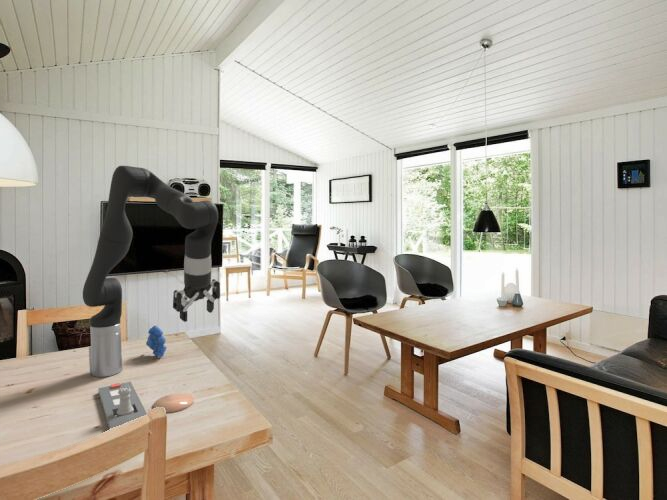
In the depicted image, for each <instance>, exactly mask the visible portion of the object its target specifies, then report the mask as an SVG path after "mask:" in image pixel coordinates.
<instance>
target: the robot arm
mask: <svg viewBox="0 0 667 500" xmlns="http://www.w3.org/2000/svg"><path fill="white" fill-rule="evenodd" d="M128 197H137V198H143V197H144V198H150V199H154V200H155V203H156V205H157V206H158V207H159V208H160V209H161V210H162V211H165V212H166V213H168V214H170V215H172V216H173V217H174V218H175V220H176V221H177V223H178V224H180V225H181V227H183V228H185V229H188V230H194V231H193V232H191V233H189V234H187V235H186V236H185V239H184V240H185V241H184V260H183V262H184V263H183V283H184V288H183V289H181V290H178V289H175V290H174V291H173V294H172V295H173V299H172V300H173V301H172V308H173V309H174V310H175V311H176V312H178V313H179V318H180V320H181V321H182V322H184V323H187V322H188V309H189V307H191V306H192V305H193V303H194V302H197V301H199V300H204V298H206V299H207V300H206V311H207V312H208V313H210V314H212V313H213V311H214V309H215V302H216V300H219V299H220V298H221V286H220V285H221V283H220V281H218V280H217V279H215V278H213V279H212V242H213V237H214V235H215V232H216V228H217V225H218V222H219V211H218V208H217V206H216V204H215V203H214V202H213V201H210V200H201V201H200V200H199V201H195V202H194V201H193V199H192V198H191V197H190V196H189V195H188V194H186V193H185V192H182V191H180V190H178V189H176V188H173V187H171V186H170V185H168V184H167V183H165V182H164V181H163V180H162V179H160V178H159V177H158V176H157V175H156V174H154V173H153V172H152V171H150V170H149V169H148V168H147V169H146V168H144V167H139V166H138V167H137V166H130V165H119V166H116V167H115V170H114V171H113V173H112V176H111V182H110V189H109V194H108V202H107V207H106V211H105V215H104V219H103V223H102V226H101V229H100V233H99V236H98V237H99V238H98V241H97V245H96V249H95V253H94V257H93V260H92V264H91V266H90V268H89V272H88V273H87V274H88V275H87V277H86V279H85V282H84V285H83V288H82V301H83V303H84V304H85V305H86V307H90V308H97V307H103V308H102V309H101V310H100V311H99V312H98V313H95V314H94V315H93V316H91V317H90V319H89V329H90V331H89V332H90V346H89V347H88V359H89V363H88V364H89V374H90V375H92V376H93V377H98V378H104V377H105V378H106V377H110V376H115V375H117V374H119V373H121V372H122V371H123V354H122V350H123V349H122V330H121V329H122V328H121V327H122V325H121V318H122V314H123V311H122V309H123V307H122V306H123V288H122V285H121V282H120V281H119V279H117V277H108V275H109V273H110V272H111V271H112V270H113V269H114V268H115V267H116V266H117V265H118V264H119V263H120V262H121V261H122V260H123V259H124V258H125V257H126V256H127V254H128V252H129V250H130V246H131V243H132V240H133V235H134V233H133V228H132V225H131V223H130V221H129V218H128V216H127V213H126V203H127V199H128ZM210 290H211V292H212V293H210V292H209V291H210ZM188 299H189V300H188Z"/></svg>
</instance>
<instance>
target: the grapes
mask: <svg viewBox="0 0 667 500" xmlns="http://www.w3.org/2000/svg"><path fill="white" fill-rule="evenodd" d="M147 333H148V334H149V335H148V337H147V341H146V343H145V345H146V346H147V347H149V349H150V350H152V354H153V355H154V356H155V357H159V358H163V357H164V355H165V352H166V350H167V346H166V345H165V344H166V342H167V339H166V338H165V337H164V336H163V335H164V331H163V330H162V329H160V328H159V327H158V326H157V325H153V326H152V327H150V328H149V330H148V331H147Z"/></svg>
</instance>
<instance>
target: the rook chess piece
mask: <svg viewBox="0 0 667 500" xmlns="http://www.w3.org/2000/svg"><path fill="white" fill-rule="evenodd" d="M124 387H125V388H123V387H121V388H119V391H118V394H119V395H120V397H119V399H120V405H119V408H118V410H117V412H116V413H117V414H116V417H120V416H124V415H128V414H132V413H135V409H134V408H133V407H132V405H131V403H130V396H131V395H130V392H131V389H130V387H129V386H127V387H126V386H124ZM116 417H115V418H116Z"/></svg>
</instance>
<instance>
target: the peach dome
mask: <svg viewBox="0 0 667 500" xmlns="http://www.w3.org/2000/svg"><path fill="white" fill-rule="evenodd" d="M194 403H195V397H194V396H193V395H192V394H189V393H186V392H185V393H183V392H181V393H171V394H167V395H164V396H161V397H159V398H158V399H156V401H154V403H153V409H154V408H156V407H164V408H165V410H166V413H167V414H168V413H176V412H179V411H182V410H183V411H184V410H186V409H188V408H190V407H192V405H193V404H194ZM166 413H165V414H166Z"/></svg>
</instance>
